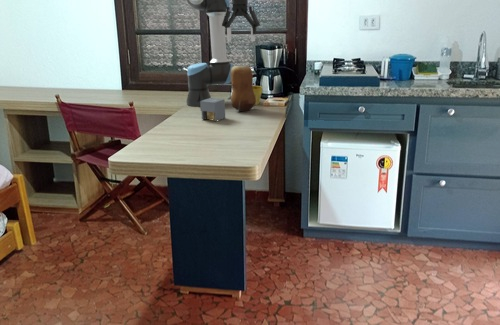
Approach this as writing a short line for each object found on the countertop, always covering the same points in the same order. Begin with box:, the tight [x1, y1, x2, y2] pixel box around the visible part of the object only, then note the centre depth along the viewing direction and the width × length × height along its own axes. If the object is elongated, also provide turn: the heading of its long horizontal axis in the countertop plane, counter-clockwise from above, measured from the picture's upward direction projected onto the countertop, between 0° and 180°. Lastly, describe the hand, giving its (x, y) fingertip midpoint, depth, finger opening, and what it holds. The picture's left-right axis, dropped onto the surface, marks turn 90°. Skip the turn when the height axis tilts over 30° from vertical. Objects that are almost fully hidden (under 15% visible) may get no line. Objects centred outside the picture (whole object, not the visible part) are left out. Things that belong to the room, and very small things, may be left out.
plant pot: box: [252, 85, 263, 106], centre depth 284 cm, size 10×10×10 cm
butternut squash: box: [230, 64, 256, 112], centre depth 265 cm, size 14×13×25 cm
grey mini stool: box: [199, 97, 226, 122], centre depth 251 cm, size 9×9×10 cm
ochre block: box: [206, 112, 215, 121], centre depth 252 cm, size 4×4×4 cm
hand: (241, 41), depth 241 cm, fingers open, 13 cm apart
